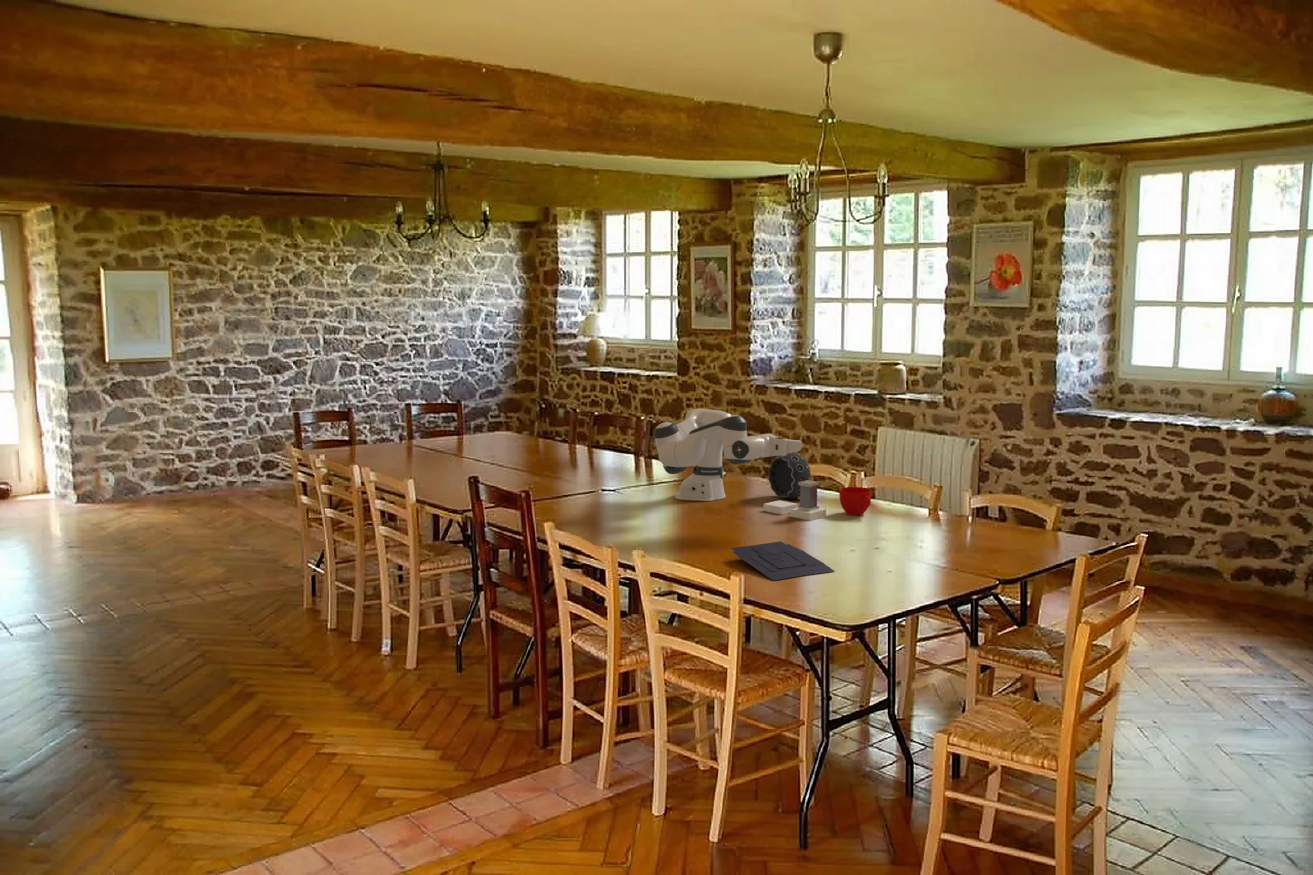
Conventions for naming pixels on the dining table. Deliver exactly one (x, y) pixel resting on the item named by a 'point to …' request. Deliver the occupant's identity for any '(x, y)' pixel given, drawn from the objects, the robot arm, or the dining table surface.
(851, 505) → the ceramic cup
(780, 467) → the dark grey rounded piece
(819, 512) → the stand
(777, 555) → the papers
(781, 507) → the stand
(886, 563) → the dining table surface
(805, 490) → the housing
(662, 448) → the robot arm
